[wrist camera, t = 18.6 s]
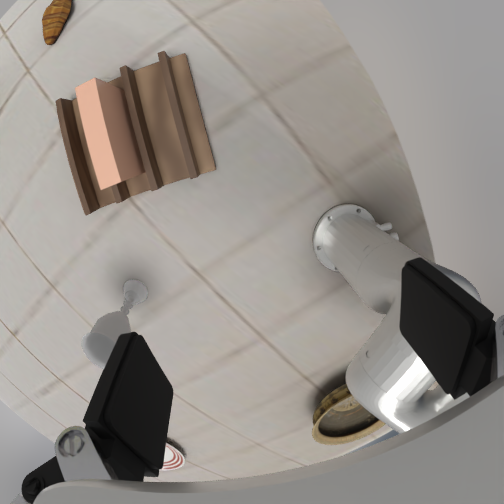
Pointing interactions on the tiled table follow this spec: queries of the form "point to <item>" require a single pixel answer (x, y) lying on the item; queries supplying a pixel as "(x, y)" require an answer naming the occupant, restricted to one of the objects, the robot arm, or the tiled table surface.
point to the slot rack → (145, 133)
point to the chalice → (112, 325)
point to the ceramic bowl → (342, 419)
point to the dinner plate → (172, 458)
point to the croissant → (55, 19)
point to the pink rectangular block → (109, 132)
